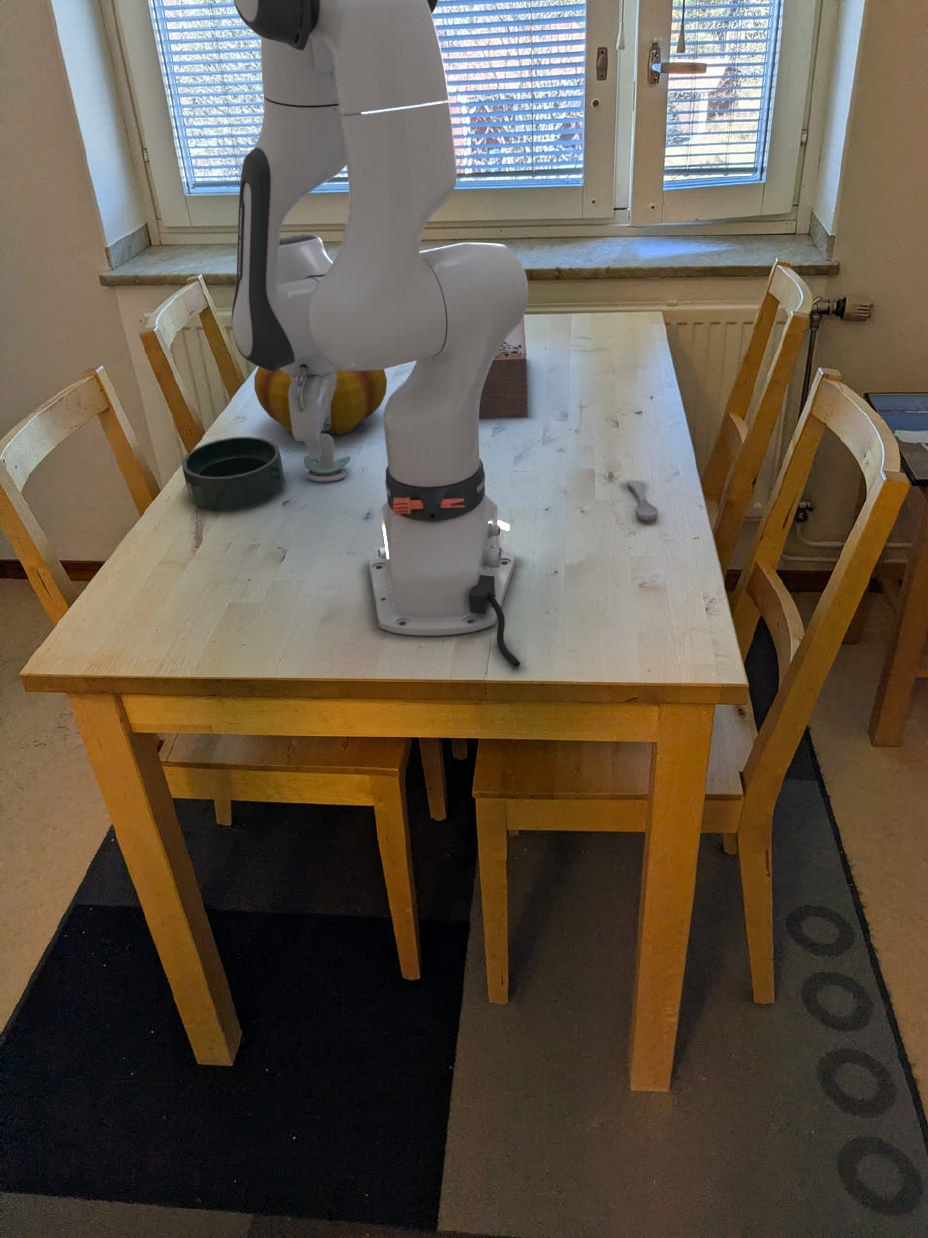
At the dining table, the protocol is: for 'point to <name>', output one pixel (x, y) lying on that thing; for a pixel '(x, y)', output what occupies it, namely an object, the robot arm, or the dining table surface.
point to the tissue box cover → (507, 379)
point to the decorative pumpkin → (349, 403)
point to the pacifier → (326, 462)
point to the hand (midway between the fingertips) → (320, 442)
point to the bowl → (233, 473)
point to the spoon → (642, 503)
